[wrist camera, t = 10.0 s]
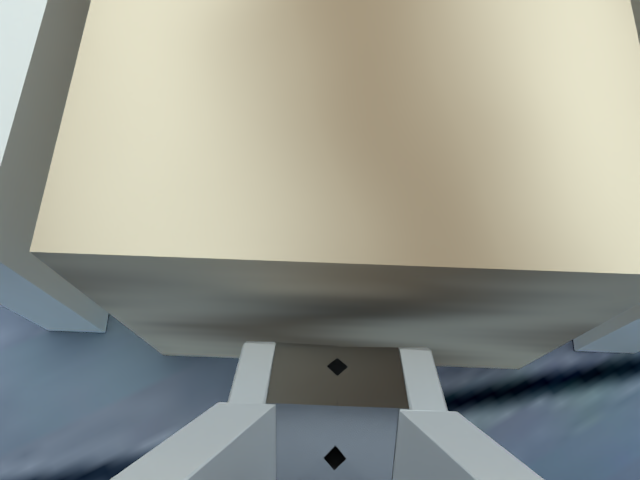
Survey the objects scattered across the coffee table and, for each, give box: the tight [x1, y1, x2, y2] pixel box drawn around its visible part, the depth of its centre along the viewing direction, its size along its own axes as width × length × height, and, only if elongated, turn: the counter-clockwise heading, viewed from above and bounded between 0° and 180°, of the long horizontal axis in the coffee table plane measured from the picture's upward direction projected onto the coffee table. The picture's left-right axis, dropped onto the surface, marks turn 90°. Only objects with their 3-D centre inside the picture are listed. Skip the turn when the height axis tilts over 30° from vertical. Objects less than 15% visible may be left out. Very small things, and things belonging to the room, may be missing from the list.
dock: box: [0, 0, 640, 353], centre depth 12 cm, size 15×12×10 cm
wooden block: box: [29, 0, 640, 369], centre depth 13 cm, size 9×11×8 cm
